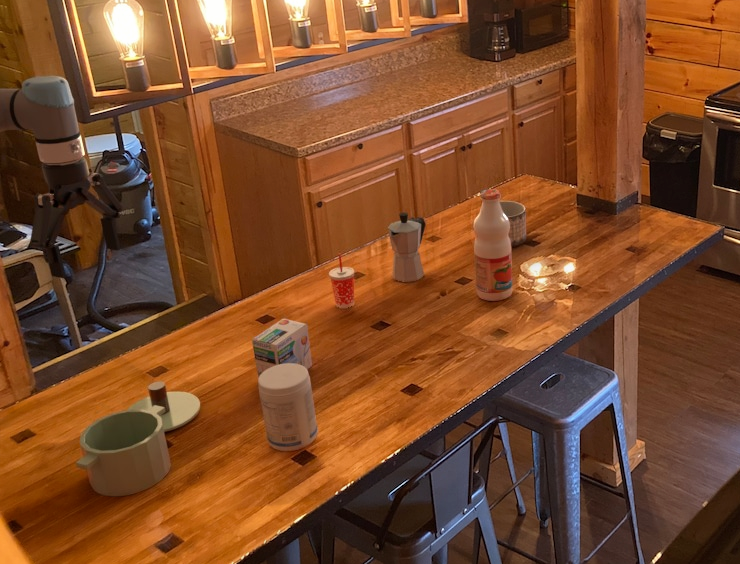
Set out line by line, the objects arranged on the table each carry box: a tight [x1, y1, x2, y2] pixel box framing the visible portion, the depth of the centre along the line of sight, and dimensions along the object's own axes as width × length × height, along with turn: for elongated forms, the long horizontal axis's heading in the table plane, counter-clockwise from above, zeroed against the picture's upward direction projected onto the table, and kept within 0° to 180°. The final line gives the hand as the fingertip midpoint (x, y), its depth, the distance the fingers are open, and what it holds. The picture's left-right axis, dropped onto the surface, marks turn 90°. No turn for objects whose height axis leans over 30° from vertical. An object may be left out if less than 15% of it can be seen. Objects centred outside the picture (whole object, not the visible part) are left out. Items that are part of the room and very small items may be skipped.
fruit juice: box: [473, 188, 514, 302], centre depth 240 cm, size 9×9×28 cm
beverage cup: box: [328, 253, 356, 309], centre depth 237 cm, size 6×6×14 cm
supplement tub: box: [257, 363, 319, 452], centre depth 184 cm, size 10×10×15 cm
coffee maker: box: [387, 212, 427, 283], centre depth 252 cm, size 15×9×18 cm, turn 155°
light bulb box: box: [251, 317, 313, 379], centre depth 207 cm, size 11×7×11 cm, turn 158°
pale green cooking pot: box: [75, 405, 172, 497], centre depth 175 cm, size 14×19×10 cm
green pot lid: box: [126, 381, 201, 433], centre depth 193 cm, size 15×15×7 cm
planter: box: [499, 200, 527, 248], centre depth 274 cm, size 13×13×10 cm
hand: (87, 262), depth 187 cm, fingers open, 13 cm apart
